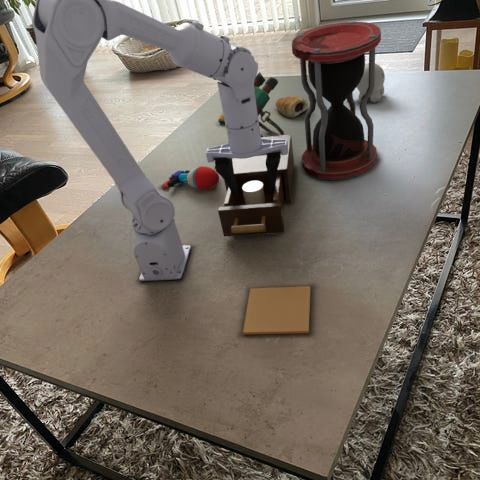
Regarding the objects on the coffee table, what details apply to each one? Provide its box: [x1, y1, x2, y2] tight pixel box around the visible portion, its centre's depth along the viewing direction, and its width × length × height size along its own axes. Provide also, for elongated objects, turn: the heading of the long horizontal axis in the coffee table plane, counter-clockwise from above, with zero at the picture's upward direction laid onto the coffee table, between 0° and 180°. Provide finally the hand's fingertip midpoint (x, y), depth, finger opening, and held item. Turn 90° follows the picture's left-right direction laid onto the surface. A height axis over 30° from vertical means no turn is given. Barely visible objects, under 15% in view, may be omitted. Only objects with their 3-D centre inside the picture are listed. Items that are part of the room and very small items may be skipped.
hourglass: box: [291, 20, 382, 181], centre depth 98 cm, size 16×16×25 cm
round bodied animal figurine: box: [355, 62, 386, 103], centre depth 124 cm, size 7×12×8 cm, turn 62°
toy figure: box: [161, 165, 220, 191], centre depth 108 cm, size 8×5×15 cm
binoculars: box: [218, 71, 286, 137], centre depth 115 cm, size 14×14×15 cm
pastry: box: [275, 95, 309, 119], centre depth 128 cm, size 9×7×4 cm
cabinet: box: [223, 134, 295, 205], centre depth 102 cm, size 15×13×8 cm
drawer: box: [217, 173, 285, 237], centre depth 92 cm, size 17×11×6 cm, turn 173°
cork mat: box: [242, 285, 312, 335], centre depth 77 cm, size 10×10×1 cm
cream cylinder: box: [242, 181, 266, 205], centre depth 93 cm, size 4×4×5 cm
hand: (253, 191), depth 92 cm, fingers open, 7 cm apart
